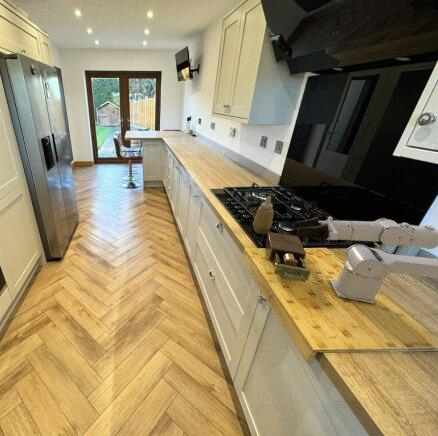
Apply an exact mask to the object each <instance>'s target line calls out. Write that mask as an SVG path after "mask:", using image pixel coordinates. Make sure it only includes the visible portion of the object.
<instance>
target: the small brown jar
mask: <svg viewBox="0 0 438 436" xmlns="http://www.w3.org/2000/svg"><path fill="white" fill-rule="evenodd" d="M283 259H284V263H285V265H289V266H294V267H296V266H297V263H298V261H297V260H295V258H294V256H293V255H292V254H289V253H288V254H285V255H284V256H283Z"/></svg>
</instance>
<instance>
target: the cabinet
mask: <svg viewBox="0 0 438 436" xmlns="http://www.w3.org/2000/svg"><path fill="white" fill-rule="evenodd" d="M264 245H265V249H266V253H267V258H268V261H271V262H272V261H273V262H274V260H273V252H274V250H276V251H281V252H287V253H293V254H299V255H301V256H302V258H303V261H304V262H305V259H306V256H307V252H306V250H305V248H304V246H303V243H302V241H301V239H300V236H299V235H291V234H285V233H279V232H272V231H268V232H267V234H266V238H265V242H264Z"/></svg>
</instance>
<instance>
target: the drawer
mask: <svg viewBox="0 0 438 436" xmlns="http://www.w3.org/2000/svg"><path fill="white" fill-rule="evenodd" d="M285 254H288V253H287V252H281V251H276V250H274V252H273V260H274V261H273V263H274V269H273V273H274V274H275V275H279V276H283V278H284V279H289V280H294V281H297V282H304V283H305V282H306V281H308V279H309V276H310V275H311V272H312V271H311V269H310V268H307V266H306V263H305V260H304V261H303V258H302V256H301V255H299V254H293V253H289V254H292V255H293V256H294V258H295V260H297V261H298V263H297V266H296V267H294V266H289V265H285V263H284V259H283V256H284V255H285Z"/></svg>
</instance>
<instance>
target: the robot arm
mask: <svg viewBox="0 0 438 436" xmlns="http://www.w3.org/2000/svg"><path fill="white" fill-rule="evenodd" d="M292 229H294V230H297V231H296V236H298V237H303V238H308V239H312V240H314V241H317V242H320V243H322V244H326V243H327V241H328V240H329V241H338V240H339V241H340V240H341V241H360V242H381V243H382V244H384V245H385V246H389V247H399V246H409V247H415V248H420V249H426V250H433V249H436V248H438V229H437V228H435V227H433V225H428V224H426V225H424V226H420V225H415V224H409V223H408V222H402V223H398V222H396V221H395V220H392V219H387V218H386V217H383V218H378V219H377V220H374V221H364V220H363V221H362V220H333V217H332V216H328V217H327V219H325V220H319V216H315V217H312V218H309V219H306V220H305V219H304V220H299V221H293V225H292ZM345 257H346V258H347V259H346V261H345V263H344V264H343V267H342V269H341V271H340V273H339V275H338V277H337V279H336V280H334V279H330V280H329V282H330V284H331V286H332V288H333V289H334V292H335V293H336V295H337V296H338V297H340V298H345V299H349V300H353V301H359V302H364V303H368V304H374V303H375V302H374V299H375V298H376V297H377V294H378V292H379V291H380V290H381V287H382V284H383V278H386V277H388V276H389V275H390V274H400V275H407V276H416V277H424V278H429V279H430V278H431V279H438V258H430V257H422V256H412V255H403V254H395V253H394V254H393V253H387V252H385V251H382V250H380V249H377V248H372V247H368V246H367V245H365V244H353V245H351V246H349V247H348V248H347V249H346V250H345Z"/></svg>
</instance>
